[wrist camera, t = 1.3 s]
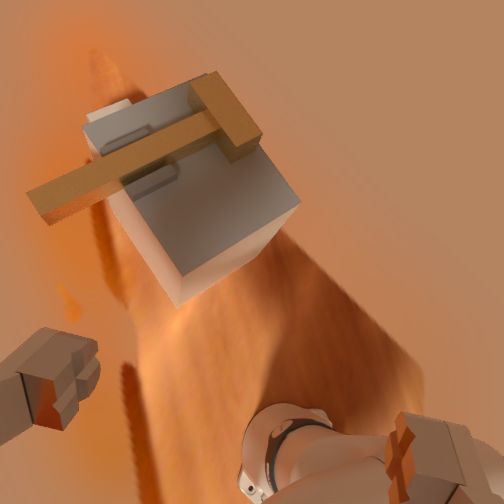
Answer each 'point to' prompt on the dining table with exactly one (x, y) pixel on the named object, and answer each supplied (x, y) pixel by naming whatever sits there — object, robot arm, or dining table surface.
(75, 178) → the wooden t-shaped block
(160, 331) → the dining table surface
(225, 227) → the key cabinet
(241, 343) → the dining table surface
